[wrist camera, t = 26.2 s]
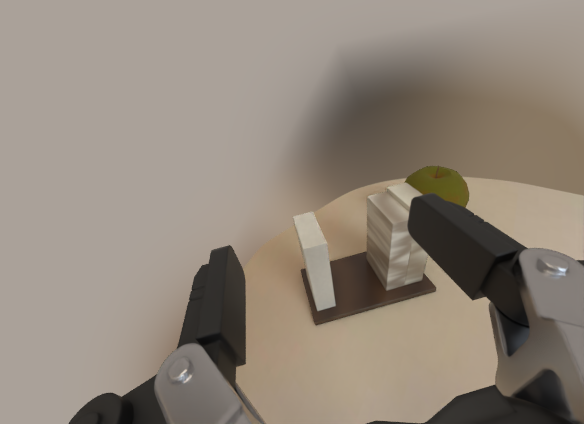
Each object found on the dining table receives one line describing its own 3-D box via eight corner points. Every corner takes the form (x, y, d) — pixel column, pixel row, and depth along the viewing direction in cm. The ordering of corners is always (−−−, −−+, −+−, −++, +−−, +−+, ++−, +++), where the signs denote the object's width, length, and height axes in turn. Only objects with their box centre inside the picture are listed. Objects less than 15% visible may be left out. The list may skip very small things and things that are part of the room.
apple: (393, 206, 45) (397, 156, 39) (446, 203, 43) (460, 149, 36) (403, 239, 37) (411, 184, 31) (469, 239, 35) (493, 178, 29)
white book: (317, 311, 29) (302, 249, 22) (307, 276, 34) (292, 216, 27) (335, 306, 29) (327, 242, 23) (323, 271, 34) (312, 211, 27)
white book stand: (315, 325, 29) (297, 256, 21) (301, 272, 36) (284, 207, 28) (435, 291, 29) (461, 212, 22) (397, 246, 37) (406, 175, 29)
